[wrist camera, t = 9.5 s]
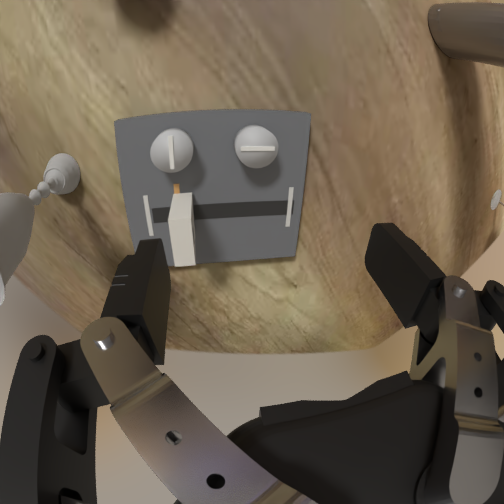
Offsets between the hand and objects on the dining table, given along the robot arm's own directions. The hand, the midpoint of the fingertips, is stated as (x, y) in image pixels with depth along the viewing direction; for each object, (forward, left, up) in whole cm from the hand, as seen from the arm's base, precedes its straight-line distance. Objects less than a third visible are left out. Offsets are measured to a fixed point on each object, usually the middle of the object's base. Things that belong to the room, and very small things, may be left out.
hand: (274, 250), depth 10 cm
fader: (+5, +8, -19) cm, 21 cm away
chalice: (+19, +2, -21) cm, 29 cm away
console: (+1, +6, -21) cm, 22 cm away
